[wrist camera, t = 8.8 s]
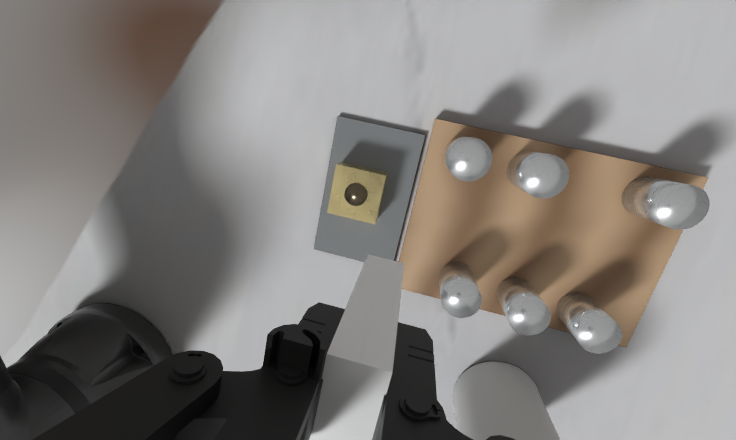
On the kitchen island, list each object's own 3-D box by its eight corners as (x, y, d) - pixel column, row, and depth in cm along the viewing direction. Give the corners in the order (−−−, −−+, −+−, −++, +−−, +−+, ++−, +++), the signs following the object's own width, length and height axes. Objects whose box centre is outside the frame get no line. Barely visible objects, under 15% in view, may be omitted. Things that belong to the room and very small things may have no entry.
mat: (314, 247, 35) (313, 248, 34) (338, 116, 31) (337, 115, 31) (392, 267, 34) (391, 268, 34) (425, 135, 31) (425, 135, 30)
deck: (393, 282, 35) (392, 286, 34) (435, 119, 30) (435, 118, 29) (620, 341, 33) (626, 347, 32) (698, 176, 28) (708, 177, 27)
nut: (333, 206, 33) (326, 212, 31) (342, 161, 32) (335, 164, 29) (378, 217, 33) (374, 224, 30) (388, 172, 32) (386, 175, 29)
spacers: (409, 281, 33) (407, 304, 29) (449, 133, 29) (453, 133, 25) (603, 331, 32) (632, 363, 27) (671, 181, 28) (718, 190, 24)
